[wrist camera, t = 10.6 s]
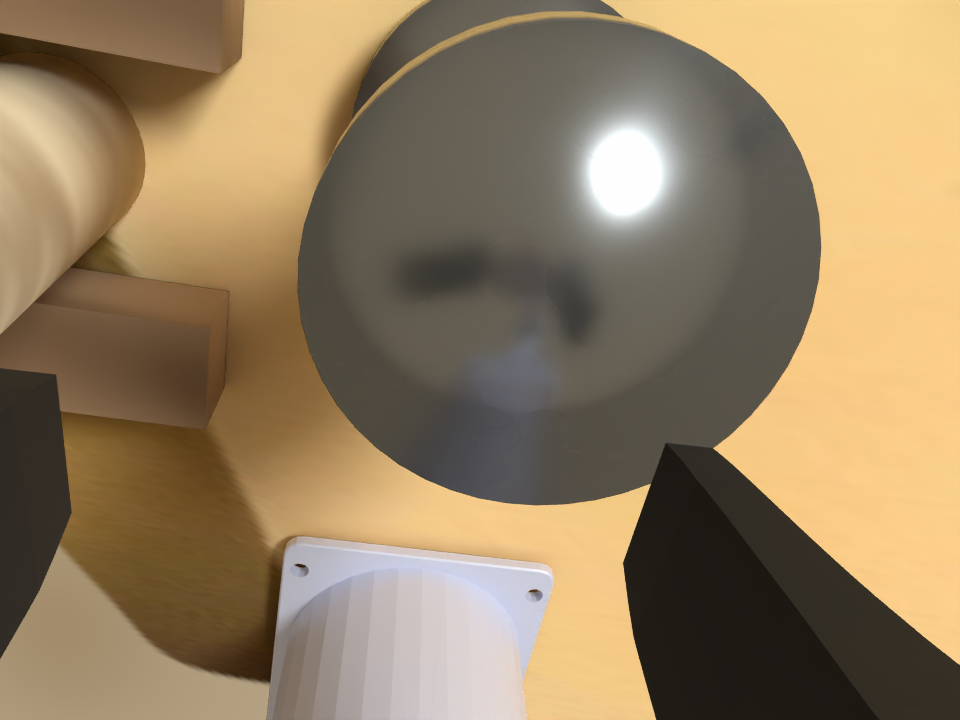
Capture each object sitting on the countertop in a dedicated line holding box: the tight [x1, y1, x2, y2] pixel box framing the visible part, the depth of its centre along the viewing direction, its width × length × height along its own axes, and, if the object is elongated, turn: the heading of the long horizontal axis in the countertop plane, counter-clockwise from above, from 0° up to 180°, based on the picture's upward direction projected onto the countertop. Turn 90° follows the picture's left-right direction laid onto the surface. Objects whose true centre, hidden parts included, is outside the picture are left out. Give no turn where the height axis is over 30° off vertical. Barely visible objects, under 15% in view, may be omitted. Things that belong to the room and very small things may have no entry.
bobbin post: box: [298, 0, 821, 505], centre depth 15 cm, size 7×7×8 cm
